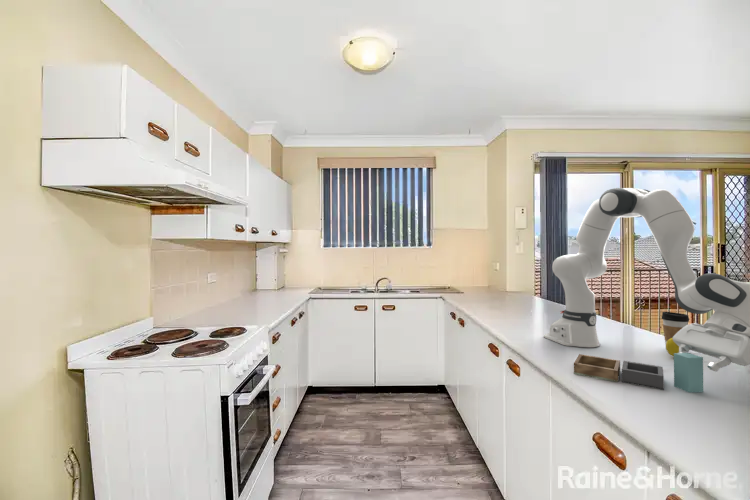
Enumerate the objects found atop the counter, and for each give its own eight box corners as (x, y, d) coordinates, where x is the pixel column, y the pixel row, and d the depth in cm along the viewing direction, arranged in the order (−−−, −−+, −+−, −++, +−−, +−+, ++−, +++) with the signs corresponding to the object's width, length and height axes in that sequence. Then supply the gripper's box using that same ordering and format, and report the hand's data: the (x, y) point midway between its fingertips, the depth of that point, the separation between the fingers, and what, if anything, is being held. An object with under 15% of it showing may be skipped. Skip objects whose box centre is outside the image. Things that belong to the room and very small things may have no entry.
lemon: (689, 360, 124) (689, 339, 124) (672, 360, 126) (671, 338, 126) (679, 356, 130) (679, 335, 130) (662, 355, 131) (662, 334, 131)
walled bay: (573, 373, 114) (573, 363, 114) (579, 363, 123) (579, 354, 123) (617, 382, 106) (617, 370, 106) (620, 371, 116) (620, 360, 116)
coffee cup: (660, 346, 143) (660, 310, 143) (687, 349, 138) (687, 312, 138) (663, 351, 136) (662, 313, 136) (691, 354, 131) (691, 315, 131)
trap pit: (621, 381, 107) (621, 369, 107) (623, 372, 114) (623, 360, 114) (663, 389, 100) (663, 376, 100) (662, 379, 108) (662, 366, 108)
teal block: (674, 386, 103) (673, 353, 103) (688, 385, 103) (687, 352, 103) (688, 392, 98) (688, 358, 98) (703, 391, 99) (703, 357, 99)
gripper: (684, 315, 111) (656, 346, 111) (758, 330, 91) (724, 368, 91) (697, 328, 112) (669, 359, 111) (773, 346, 91) (740, 384, 91)
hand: (694, 363), depth 101 cm, fingers open, 8 cm apart
